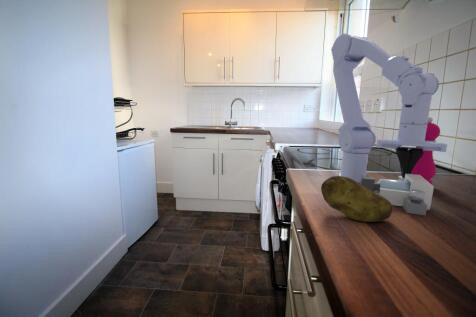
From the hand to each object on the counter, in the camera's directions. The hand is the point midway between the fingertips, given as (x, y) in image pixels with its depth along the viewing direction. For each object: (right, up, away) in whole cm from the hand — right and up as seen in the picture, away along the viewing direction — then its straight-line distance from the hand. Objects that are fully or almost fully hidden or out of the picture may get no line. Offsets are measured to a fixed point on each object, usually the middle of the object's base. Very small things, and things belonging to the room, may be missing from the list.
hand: (405, 177), depth 66 cm
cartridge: (-6, -5, -3) cm, 9 cm away
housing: (-4, -5, -4) cm, 8 cm away
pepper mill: (+11, -3, +11) cm, 15 cm away
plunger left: (0, -4, +1) cm, 4 cm away
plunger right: (-5, -6, -10) cm, 13 cm away
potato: (-20, -7, -14) cm, 25 cm away
